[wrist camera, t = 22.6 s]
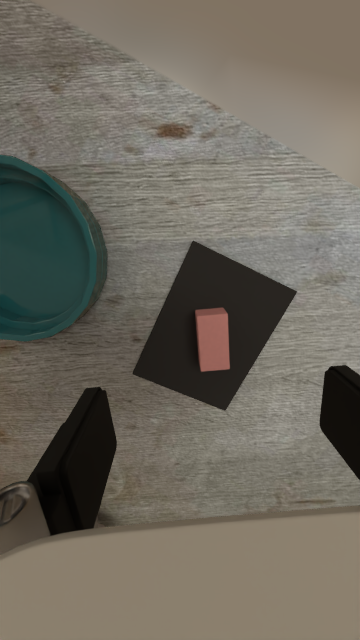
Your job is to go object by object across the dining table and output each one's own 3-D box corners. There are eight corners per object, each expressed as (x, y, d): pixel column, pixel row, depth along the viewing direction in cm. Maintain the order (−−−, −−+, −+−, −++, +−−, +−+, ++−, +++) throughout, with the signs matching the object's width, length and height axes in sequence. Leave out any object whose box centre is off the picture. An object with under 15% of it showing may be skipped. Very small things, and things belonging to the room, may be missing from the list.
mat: (193, 240, 24) (193, 240, 24) (295, 291, 26) (297, 291, 25) (133, 372, 28) (132, 374, 28) (224, 408, 30) (225, 410, 30)
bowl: (-31, 136, 22) (-76, 113, 18) (131, 215, 23) (122, 209, 20) (-59, 292, 25) (-101, 300, 22) (81, 348, 27) (65, 364, 24)
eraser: (195, 309, 26) (196, 316, 23) (223, 307, 26) (227, 313, 23) (198, 361, 28) (200, 372, 25) (225, 358, 28) (229, 369, 25)
